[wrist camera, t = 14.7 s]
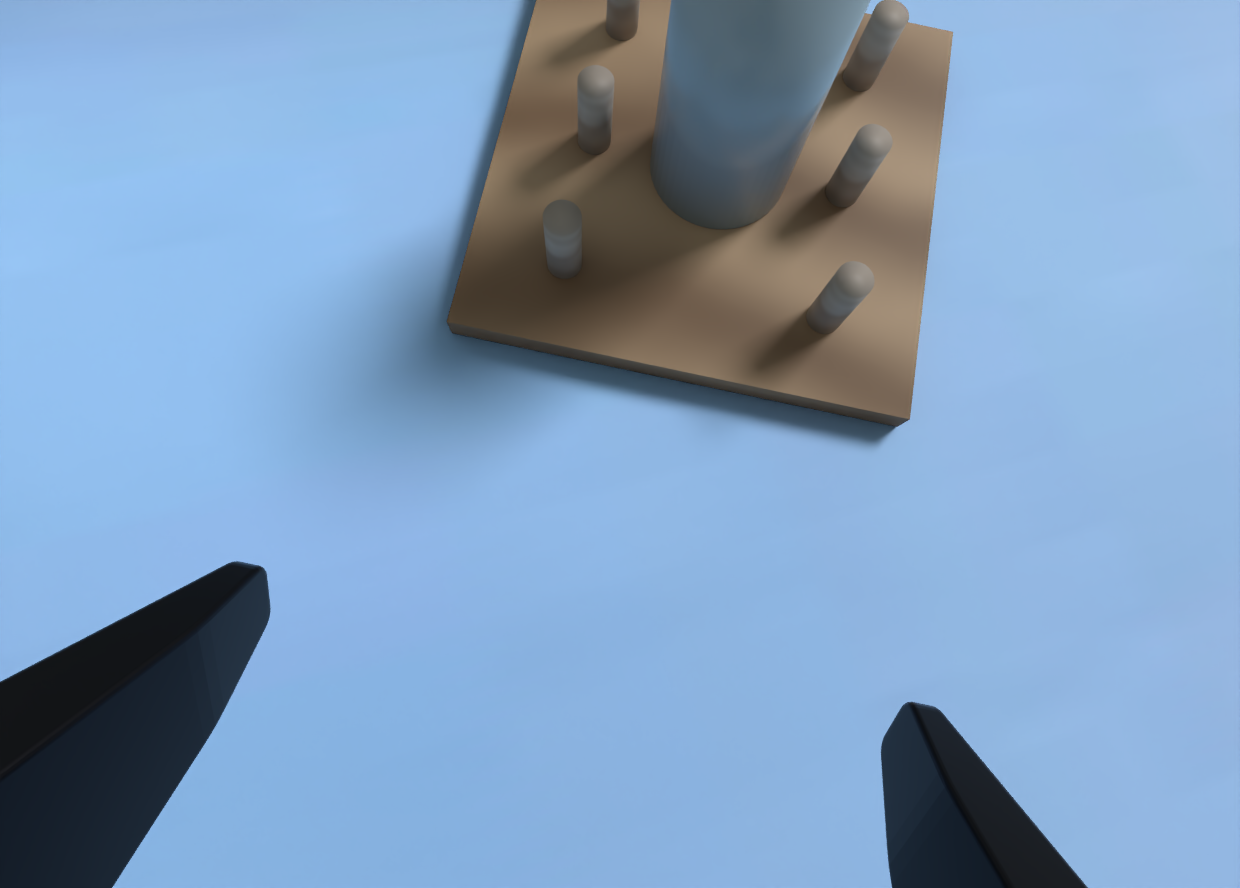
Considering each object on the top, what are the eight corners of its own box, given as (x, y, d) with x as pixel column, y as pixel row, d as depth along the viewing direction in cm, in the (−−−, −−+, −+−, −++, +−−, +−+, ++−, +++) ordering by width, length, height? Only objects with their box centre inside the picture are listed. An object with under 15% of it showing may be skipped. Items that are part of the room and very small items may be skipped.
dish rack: (897, 426, 25) (954, 392, 21) (451, 332, 25) (428, 282, 21) (940, 51, 29) (996, -36, 25) (552, -32, 29) (547, -132, 25)
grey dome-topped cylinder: (810, 150, 26) (939, -120, 17) (743, 254, 25) (839, 31, 16) (694, 84, 27) (753, -215, 17) (623, 184, 26) (643, -75, 16)
